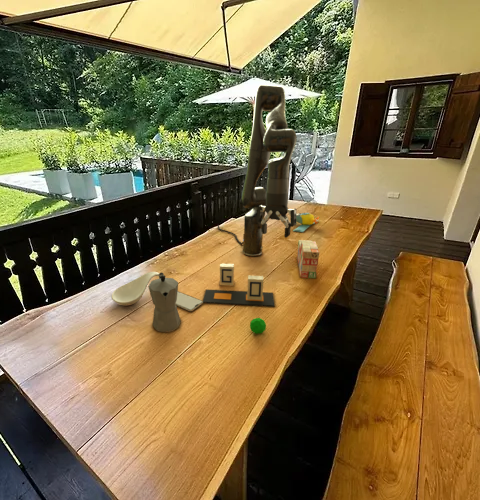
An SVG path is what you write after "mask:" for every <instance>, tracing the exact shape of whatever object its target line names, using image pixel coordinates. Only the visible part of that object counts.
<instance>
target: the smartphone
mask: <svg viewBox="0 0 480 500" xmlns="http://www.w3.org/2000/svg"><path fill="white" fill-rule="evenodd" d="M175 304H176V306H177V307H178V308H182V309H183V310H186V311H188V312H193V311H194V310H196V309H197V308H199V307H200V306H201V305H202V304H204V303H203V300H202V299H199V298H197V297H193V296H192V295H189V294H186V293H183V292H180V291H179V290H178V291H177V301H176V303H175Z"/></svg>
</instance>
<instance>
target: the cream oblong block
mask: <svg viewBox="0 0 480 500" xmlns="http://www.w3.org/2000/svg"><path fill="white" fill-rule="evenodd" d="M234 274H235V264H234V263H220V264H219V286H228V287H229V286H230V287H234V281H235V280H234V279H235V278H234V277H235V275H234Z"/></svg>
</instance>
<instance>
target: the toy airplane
mask: <svg viewBox="0 0 480 500" xmlns="http://www.w3.org/2000/svg"><path fill="white" fill-rule="evenodd" d="M319 218H320V216H317V217H316V218H315V215H314V214H311V213H310V212H302V213H301V212H300V213H296V223H298V224H300V225H299V226H298V227H296V228H294V229H293V230H292V232H296V233H304V232H305V231H306V230H307V229H308V228H310V227H311V226H312V225H314V224H315V225H317V224H318V223H319V221H320V220H319Z"/></svg>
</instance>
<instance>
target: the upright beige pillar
mask: <svg viewBox="0 0 480 500" xmlns="http://www.w3.org/2000/svg"><path fill="white" fill-rule="evenodd" d="M246 291H247V299H250V300H262V297H263V292H264V275H249V274H248V275H247V290H246Z"/></svg>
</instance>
